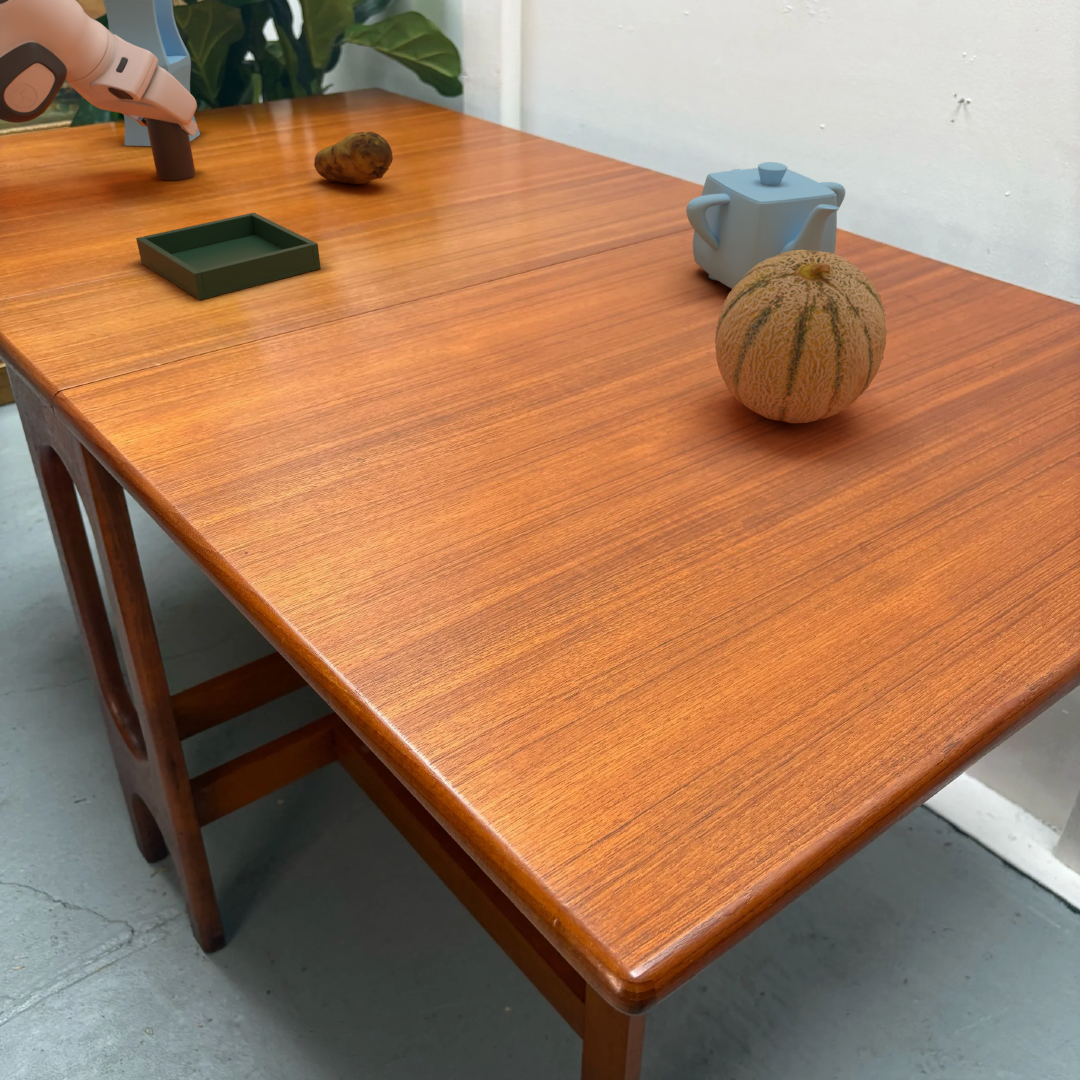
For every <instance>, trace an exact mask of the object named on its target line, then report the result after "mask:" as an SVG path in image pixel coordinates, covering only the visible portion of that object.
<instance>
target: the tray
mask: <svg viewBox="0 0 1080 1080" xmlns="http://www.w3.org/2000/svg"><path fill="white" fill-rule="evenodd" d="M135 239H136V244H137V248H138V253H139V258H140V262H141V264H143V265H144V266H146V267H147V268H148V269H150V270H152V271H153V272H155V273H156V274H158V275H159V276H161V277H162V278H164V279H166V280H167V281H169V282H171V284H173V285H174V286H176V287H178V288H179V289H181V290H182V291H184V292H186V293H187V294H188V295H190V296H192V297H194V298H195V299H197V300H198V301H202V300H206V299H210V298H215V297H218V296H221V295H222V296H223V295H225V294H229V293H233V292H237V291H240V290H245V289H248V288H253V287H256V286H261V285H264V284H268V283H272V282H276V281H279V280H283V279H287V278H290V277H291V278H292V277H294V276H298V275H302V274H307V273H310V272H314V271H318V270H321V269H322V268H321V259H320V252H319V244H318V243H317V242H315V241H313V240H311V239H309V238H307V237H305V236H303V235H301V234H299V233H297V232H294V231H293V230H291V229H288V228H287V227H286V226H285V227H284V226H283V225H280V224H279V223H276V222H274V221H273V220H270V219H268V218H266V217H264V216H262V215H261V214H259V213H256V212H249V213H246V214H240V215H237V216H236V215H235V216H232V217H227V218H223V219H217V220H212V221H208V222H204V223H203V222H202V223H199V224H196V225H195V224H194V225H191V226H190V225H189V226H185V227H180V228H176V229H171V230H167V231H163V232H157V233H152V234H149V235H144V236H139V237H136V238H135Z"/></svg>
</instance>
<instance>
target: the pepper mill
mask: <svg viewBox="0 0 1080 1080" xmlns="http://www.w3.org/2000/svg"><path fill="white" fill-rule="evenodd" d="M145 119H146V124H147V129H148V134H149V139H150V144H151V146H150V148H151V152H152V158H153V163H154V168H155V173H156V177H157V179H159V180H161V181H167V182H168V181H169V182H170V181H171V182H173V181H174V182H175V181H184V180H188V179H191V178H194V177H195V176H196V174H197V173H196V168H195V161H194V158H193V151H192V146H191V145H192V144H191V142H190V140H189V135H188V134H185V133H184V132H183V131H181V130H180V129H179V127H180V125H179V124H177V123H172V122H166V121H161V120H156V119H150V118H145Z"/></svg>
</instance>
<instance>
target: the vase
mask: <svg viewBox="0 0 1080 1080" xmlns="http://www.w3.org/2000/svg"><path fill="white" fill-rule="evenodd" d="M102 3H103V6H104V9H105V12H106V18H107V23H108V30H109V31H110V32H111V33H112V34H113V35H114V34H115V35H117V36H118V37H120V38H121V39H123V40H124V41H126V42H128V43H130V44H133V45H135V46H138V47H140V48H143V49H145V50H148V51H150V52H151V53H152V54H153V55H155V56H156V57H157V59H158V63H157V65H158V66H160V67H162V68H163V69H165V70H166V71H167V72H169V73H170V74H171V75H172V76H173V77H174V78H175V79H176V80H177V81H178V82H179V83H180V84H182V85H183V86H184V87H185V89H186V90H187V91H188V92H189V93H190V94H191V72H192V71H191V69H192V61H191V56H190V55H191V54H190V53H189V51H188V49H187V47H186V45H185V43H184V41H183V40H182V36H181V35H180V31H179V28H178V26H177V23H176V19H175V14H174V6H173V5H174V4H173V0H102ZM123 119H124V146H125V147H151V144H150V139H149V134H148V129H147V127H146V126H141V125H140V124H139V123H138V122H136V121H135V120H133V119H131V118H129V117H127V116H126V115H124V114H123ZM192 121H194V122H195V123H196V124H197V121H196V118H195V114H194V115H193V117H192ZM199 136H201V133H200V129H199V128H198V129H197V131H196V133H195V135H194V136H192V135H189V140H190V143H191V142H193V141H194V140H195V139H197V138H198V137H199Z"/></svg>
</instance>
